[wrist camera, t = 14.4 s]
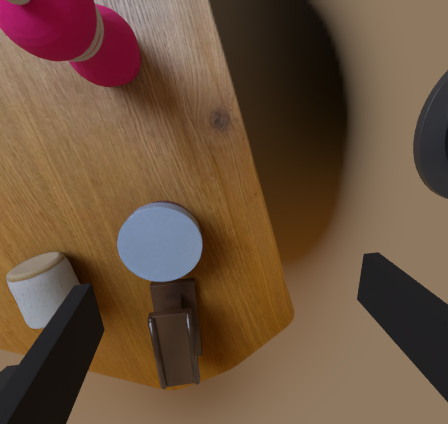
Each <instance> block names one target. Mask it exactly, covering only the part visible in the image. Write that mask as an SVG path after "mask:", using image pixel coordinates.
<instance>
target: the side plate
mask: <svg viewBox="0 0 448 424" xmlns="http://www.w3.org/2000/svg"><path fill="white" fill-rule="evenodd" d="M117 246H118V252H119V255H120V257H121V260H122V261H123V263H124V264H125V266H126V267H127V268H128V269H129V270H130V271H131V272H133V273H134V274H136V275H137V276H139V277H141V278H144V279H146V280H150V281H156V282H166V281H172V280H175V279H178V278H181V277H183V276H184V275H186V274H187V273H189V272H190V271H191V270H192V269H193V268H194V267H195V266H196V264H197V263H198V261H199V259H200V257H201V253H202V247H203V246H202V233H201V229H200V227H199V224H198V222H197V221H196V219H195V218H194V217H193V216H192V215H191V214H190V213H189V212H188V211H186V210H185V209H183V208H181V207H179V206H177V205H174V204H170V203H163V202H158V203H151V204H147V205H144V206H142V207H140V208H138V209H136V210H135V211H134V212H133V213H132V214H131V215H130V216H129V217H128V218H127V220H126V221H125V223H124V224H123V226H122V228H121V230H120V232H119V235H118V240H117Z"/></svg>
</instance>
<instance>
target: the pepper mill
mask: <svg viewBox="0 0 448 424" xmlns="http://www.w3.org/2000/svg"><path fill="white" fill-rule="evenodd" d="M0 28H1V29H2V30H3V32H4V33H5V34H6V35H7V36H8V37H9V38H10V39H11V40H12V41H13V42H14V43H16V44H17V45H18V46H19V47H21V48H23V49H24V50H26V51H27V52H29V53H31V54H33V55H35V56H37V57H39V58H43V59H47V60H51V61H69V62H70V64H71V65H72V67H73V68H74V69H75V70H76V71H77V72H78V73H79V74H80V75H81V76H82V77H84V78H85V79H87V80H88V81H90V82H92V83H94V84H96V85H100V86H104V87H114V86H119V85H125V84H128V83H129V82H131V81H132V80H133V79H134V78H135V77H136V76H137V74H138V72H139V70H140V66H141V54H140V50H139V47H138V43H137V39H136V37H135V35H134V32H133V31H132V29H131V27H130V26H129V25H128V23H127V22H126V21H125V20H124V19H123V18H122V17H121V16H120V15H118V14H117V13H116V12H115V11H113V10H111V9H110V8H107V7H105V6H101V5H97V4H95V3H94V0H0Z"/></svg>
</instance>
